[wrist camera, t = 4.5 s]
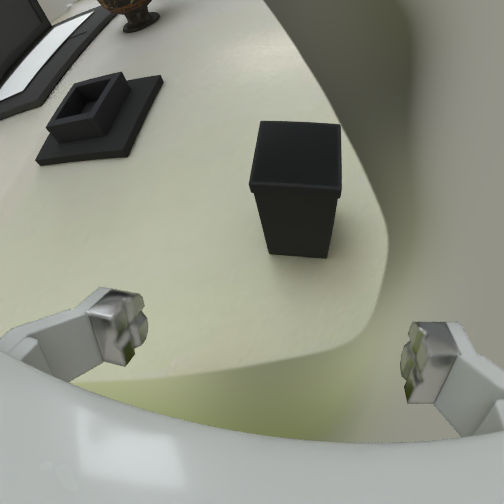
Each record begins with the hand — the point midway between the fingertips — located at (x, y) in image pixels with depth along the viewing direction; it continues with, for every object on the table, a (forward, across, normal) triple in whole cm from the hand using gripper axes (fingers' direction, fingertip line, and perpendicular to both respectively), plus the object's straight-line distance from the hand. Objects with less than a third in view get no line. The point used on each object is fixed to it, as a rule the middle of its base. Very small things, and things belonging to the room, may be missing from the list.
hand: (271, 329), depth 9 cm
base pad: (+24, +24, -7) cm, 35 cm away
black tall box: (+15, 0, +2) cm, 15 cm away
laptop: (+43, +54, -25) cm, 73 cm away
